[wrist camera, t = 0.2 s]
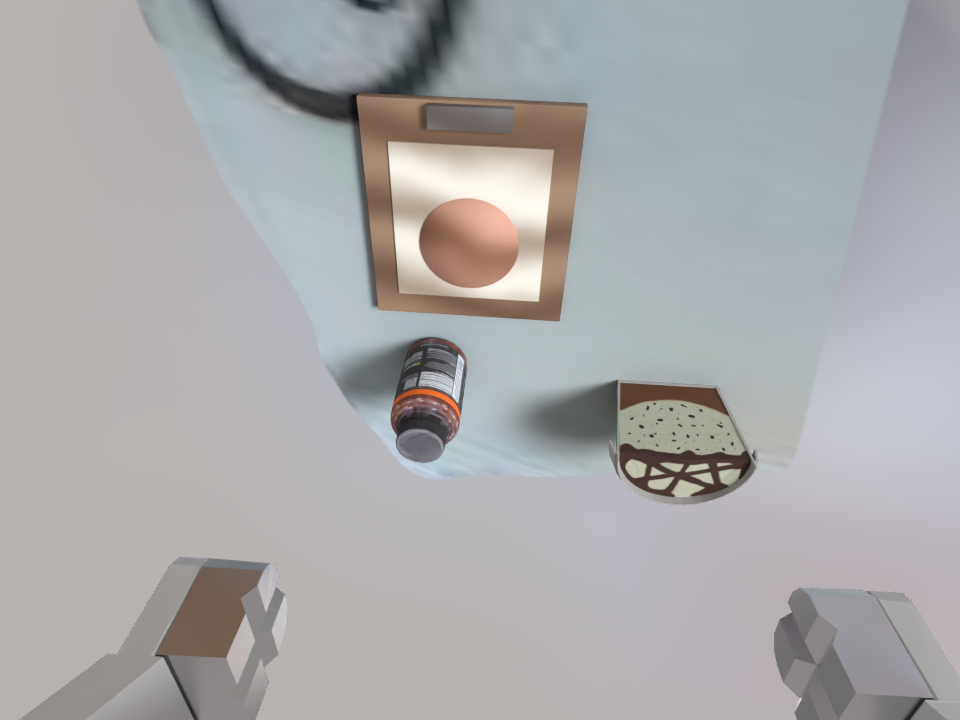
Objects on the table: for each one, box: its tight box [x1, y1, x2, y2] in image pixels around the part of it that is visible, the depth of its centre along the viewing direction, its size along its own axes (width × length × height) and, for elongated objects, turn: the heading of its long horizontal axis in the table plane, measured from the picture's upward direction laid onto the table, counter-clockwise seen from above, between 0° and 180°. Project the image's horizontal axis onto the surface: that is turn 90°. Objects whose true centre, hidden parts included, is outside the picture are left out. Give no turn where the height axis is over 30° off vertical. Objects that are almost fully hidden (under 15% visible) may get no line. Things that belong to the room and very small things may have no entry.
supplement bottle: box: [391, 338, 467, 463], centre depth 53 cm, size 6×6×11 cm
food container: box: [609, 380, 758, 506], centre depth 55 cm, size 12×6×10 cm, turn 89°
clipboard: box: [357, 93, 588, 321], centre depth 47 cm, size 18×16×2 cm
